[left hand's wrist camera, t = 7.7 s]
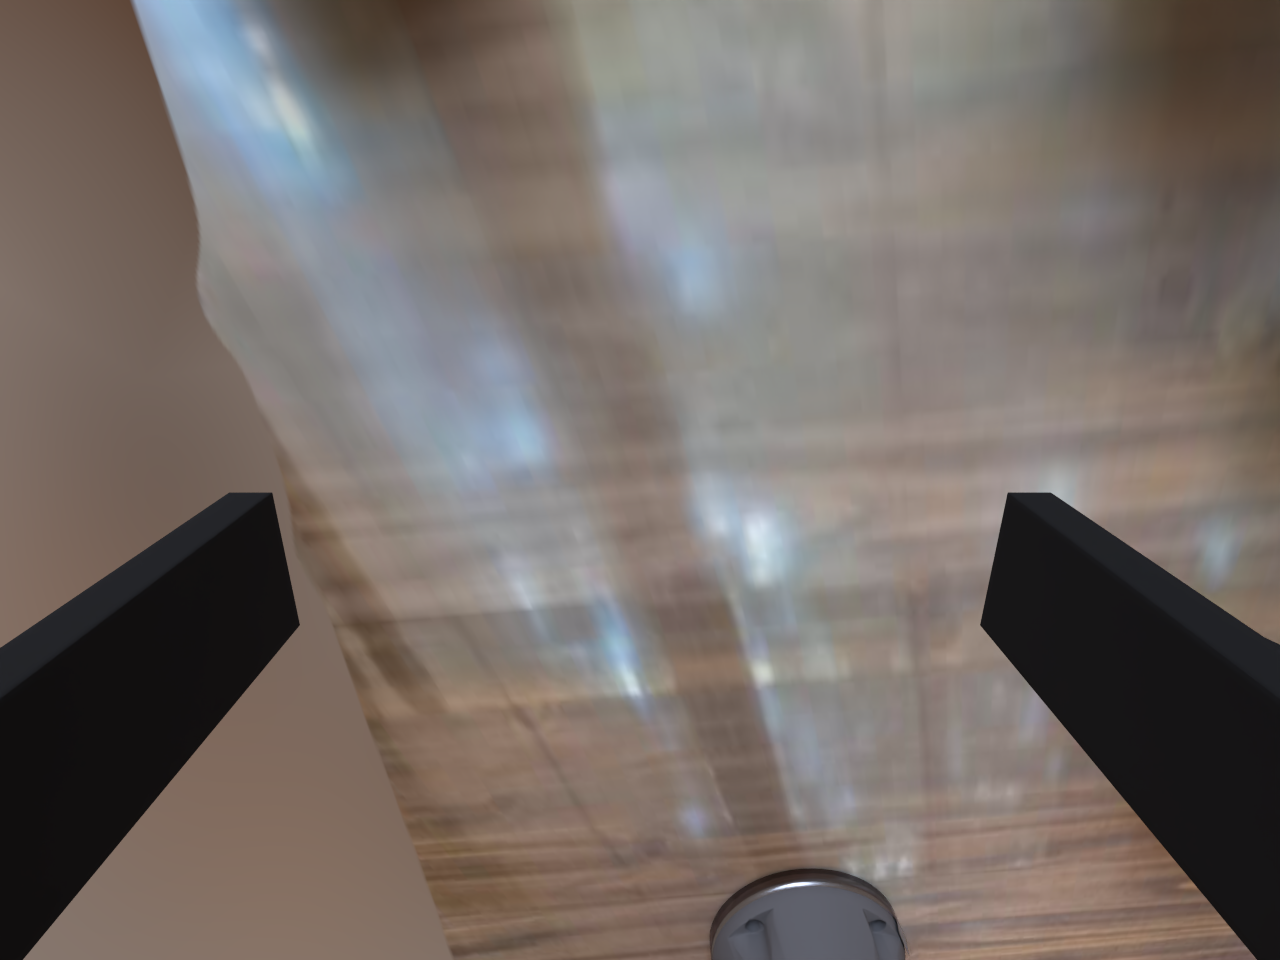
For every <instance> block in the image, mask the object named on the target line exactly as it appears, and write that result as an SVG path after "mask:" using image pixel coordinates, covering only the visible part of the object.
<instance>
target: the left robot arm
mask: <svg viewBox="0 0 1280 960" xmlns="http://www.w3.org/2000/svg"><path fill="white" fill-rule="evenodd" d="M299 625H300V624H299V619H298V614H297V609H296V605H295V600H294V595H293V590H292V585H291V581H290V576H289V571H288V566H287V562H286V557H285V552H284V547H283V542H282V538H281V533H280V528H279V523H278V518H277V514H276V509H275V504H274V499H273V494H272V493H228V494H227V495H225V496H224V497H222V498H221V499H219V500H218V501H216V502H215V503H213V504H212V505H210V506H209V507H207V508H206V509H205V510H203V511H202V512H200V513H199V514H197V515H196V516H194V517H193V518H191V519H190V520H188V521H187V522H185V523H184V524H182V525H181V526H179V527H178V528H176V529H175V530H174V531H172V532H171V533H169V534H168V535H166V536H165V537H163V538H162V539H160V540H159V541H157V542H156V543H154V544H153V545H151V546H150V547H148V548H147V549H146V550H144V551H143V552H141V553H140V554H138V555H137V556H135V557H134V558H132V559H131V560H129V561H128V562H126V563H125V564H123V565H122V566H120V567H119V568H118V569H116V570H115V571H113V572H112V573H110V574H109V575H107V576H106V577H104V578H103V579H101V580H100V581H98V582H97V583H95V584H94V585H92V586H91V587H90V588H88V589H87V590H85V591H84V592H82V593H81V594H79V595H78V596H76V597H75V598H73V599H72V600H70V601H69V602H67V603H66V604H64V605H63V606H61V607H60V608H59V609H57V610H56V611H54V612H53V613H51V614H50V615H48V616H47V617H45V618H44V619H42V620H41V621H39V622H38V623H36V624H35V625H33V626H32V627H31V628H29V629H28V630H26V631H25V632H23V633H22V634H20V635H19V636H17V637H16V638H14V639H13V640H11V641H10V642H8V643H7V644H5V645H4V646H3V647H1V648H0V960H23V959H24V958H25V956H26V955H27V954H28V953H29V952H30V950H31V949H32V948H33V947H34V945H35V944H36V943H37V942H38V941H39V939H40V938H41V937H42V936H43V935H44V933H45V932H46V931H47V930H48V929H49V927H50V926H51V925H52V924H53V923H54V921H55V920H56V919H57V918H58V916H59V915H60V914H61V913H62V912H63V910H64V909H65V908H66V907H67V906H68V904H69V903H70V902H71V901H72V900H73V898H74V897H75V896H76V895H77V894H78V892H79V891H80V890H81V889H82V887H83V886H84V885H85V884H86V883H87V881H88V880H89V879H90V878H91V877H92V875H93V874H94V873H95V872H96V871H97V869H98V868H99V867H100V866H101V865H102V863H103V862H104V861H105V860H106V858H107V857H108V856H109V855H110V854H111V852H112V851H113V850H114V849H115V848H116V846H117V845H118V844H119V843H120V842H121V840H122V839H123V838H124V837H125V836H126V834H127V833H128V832H129V831H130V830H131V828H132V827H133V826H134V825H135V823H136V822H137V821H138V820H139V819H140V817H141V816H142V815H143V814H144V813H145V811H146V810H147V809H148V808H149V807H150V805H151V804H152V803H153V802H154V801H155V799H156V798H157V797H158V796H159V794H160V793H161V792H162V791H163V790H164V788H165V787H166V786H167V785H168V784H169V782H170V781H171V780H172V779H173V778H174V776H175V775H176V774H177V773H178V772H179V770H180V769H181V768H182V767H183V766H184V764H185V763H186V762H187V761H188V759H189V758H190V757H191V756H192V755H193V753H194V752H195V751H196V750H197V749H198V747H199V746H200V745H201V744H202V743H203V741H204V740H205V739H206V738H207V736H208V735H209V734H210V733H211V732H212V730H213V729H214V728H215V727H216V726H217V724H218V723H219V722H220V721H221V720H222V718H223V717H224V716H225V715H226V714H227V712H228V711H229V710H230V709H231V708H232V706H233V705H234V704H235V703H236V701H237V700H238V699H239V698H240V697H241V695H242V694H243V693H244V692H245V691H246V689H247V688H248V687H249V686H250V685H251V683H252V682H253V681H254V680H255V679H256V677H257V676H258V675H259V674H260V672H261V671H262V670H263V669H264V668H265V666H266V665H267V664H268V663H269V662H270V660H271V659H272V658H273V657H274V656H275V654H276V653H277V652H278V651H279V650H280V648H281V647H282V646H283V645H284V643H285V642H286V641H287V640H288V639H289V637H290V636H291V635H292V634H293V633H294V631H295V630H296V629H297V628H298V626H299ZM980 625H981V627H982V628H983V629H984V630H985V631H986V633H987V634H988V635H989V636H990V637H991V639H992V640H993V641H994V642H995V644H996V645H997V646H998V647H999V648H1000V650H1001V651H1002V652H1003V653H1004V654H1005V656H1006V657H1007V658H1008V659H1009V660H1010V662H1011V663H1012V664H1013V665H1014V666H1015V668H1016V669H1017V670H1018V671H1019V672H1020V674H1021V675H1022V676H1023V677H1024V679H1025V680H1026V681H1027V682H1028V683H1029V685H1030V686H1031V687H1032V688H1033V689H1034V691H1035V692H1036V693H1037V694H1038V695H1039V697H1040V698H1041V699H1042V700H1043V701H1044V703H1045V704H1046V705H1047V706H1048V708H1049V709H1050V710H1051V711H1052V712H1053V714H1054V715H1055V716H1056V717H1057V718H1058V720H1059V721H1060V722H1061V723H1062V724H1063V726H1064V727H1065V728H1066V729H1067V730H1068V732H1069V733H1070V734H1071V735H1072V737H1073V738H1074V739H1075V740H1076V741H1077V743H1078V744H1079V745H1080V746H1081V747H1082V749H1083V750H1084V751H1085V752H1086V753H1087V755H1088V756H1089V757H1090V758H1091V759H1092V761H1093V762H1094V763H1095V764H1096V766H1097V767H1098V768H1099V769H1100V770H1101V772H1102V773H1103V774H1104V775H1105V776H1106V778H1107V779H1108V780H1109V781H1110V782H1111V784H1112V785H1113V786H1114V787H1115V788H1116V790H1117V791H1118V792H1119V793H1120V795H1121V796H1122V797H1123V798H1124V799H1125V801H1126V802H1127V803H1128V804H1129V805H1130V807H1131V808H1132V809H1133V810H1134V811H1135V813H1136V814H1137V815H1138V816H1139V817H1140V819H1141V820H1142V821H1143V822H1144V823H1145V825H1146V826H1147V827H1148V828H1149V830H1150V831H1151V832H1152V833H1153V834H1154V836H1155V837H1156V838H1157V839H1158V840H1159V842H1160V843H1161V844H1162V845H1163V846H1164V848H1165V849H1166V850H1167V851H1168V852H1169V854H1170V855H1171V856H1172V857H1173V859H1174V860H1175V861H1176V862H1177V863H1178V865H1179V866H1180V867H1181V868H1182V869H1183V871H1184V872H1185V873H1186V874H1187V875H1188V877H1189V878H1190V879H1191V880H1192V881H1193V883H1194V884H1195V885H1196V886H1197V888H1198V889H1199V890H1200V891H1201V892H1202V894H1203V895H1204V896H1205V897H1206V898H1207V900H1208V901H1209V902H1210V903H1211V904H1212V906H1213V907H1214V908H1215V909H1216V910H1217V912H1218V913H1219V914H1220V915H1221V917H1222V918H1223V919H1224V920H1225V921H1226V923H1227V924H1228V925H1229V926H1230V927H1231V929H1232V930H1233V931H1234V932H1235V933H1236V935H1237V936H1238V937H1239V938H1240V939H1241V941H1242V942H1243V943H1244V944H1245V945H1246V947H1247V948H1248V949H1249V950H1250V952H1251V953H1252V954H1253V955H1254V956H1255V958H1256V959H1257V960H1280V645H1279V644H1277V643H1275V642H1273V641H1271V640H1269V639H1266V638H1264V637H1263V636H1261V635H1260V634H1258V633H1257V632H1255V631H1254V630H1252V629H1251V628H1249V627H1248V626H1247V625H1245V624H1244V623H1242V622H1241V621H1239V620H1238V619H1236V618H1235V617H1233V616H1232V615H1230V614H1229V613H1227V612H1226V611H1224V610H1223V609H1221V608H1220V607H1219V606H1217V605H1216V604H1214V603H1213V602H1211V601H1210V600H1208V599H1207V598H1205V597H1204V596H1202V595H1201V594H1199V593H1198V592H1196V591H1195V590H1193V589H1192V588H1191V587H1189V586H1188V585H1186V584H1185V583H1183V582H1182V581H1180V580H1179V579H1177V578H1176V577H1174V576H1173V575H1171V574H1170V573H1168V572H1167V571H1165V570H1164V569H1163V568H1161V567H1160V566H1158V565H1157V564H1155V563H1154V562H1152V561H1151V560H1149V559H1148V558H1146V557H1145V556H1143V555H1142V554H1140V553H1139V552H1137V551H1136V550H1134V549H1133V548H1132V547H1130V546H1129V545H1127V544H1126V543H1124V542H1123V541H1121V540H1120V539H1118V538H1117V537H1115V536H1114V535H1112V534H1111V533H1109V532H1108V531H1106V530H1105V529H1104V528H1102V527H1101V526H1099V525H1098V524H1096V523H1095V522H1093V521H1092V520H1090V519H1089V518H1087V517H1086V516H1084V515H1083V514H1081V513H1080V512H1078V511H1077V510H1076V509H1074V508H1073V507H1071V506H1070V505H1068V504H1067V503H1065V502H1064V501H1062V500H1061V499H1059V498H1058V497H1056V496H1055V495H1053V494H1052V493H1008V494H1007V499H1006V504H1005V509H1004V514H1003V518H1002V523H1001V528H1000V533H999V537H998V542H997V547H996V552H995V557H994V561H993V566H992V571H991V576H990V581H989V585H988V590H987V595H986V600H985V605H984V609H983V614H982V619H981V624H980ZM904 945H905V948H906V950H907V952H908V947H907V942H906V938H905V936H904V934H903V931H902V929H901V927H900V924H899V922H898V920H897V917H896V916H895V913H894V910H893V908H892V906H891V905H890V903H889V902H888V900H887V899H886V898H885V896H884V895H883V894H882V893H881V892H880V891H878V890H877V889H876V888H875V887H873V886H872V885H871V884H869V883H867V882H865V881H864V880H862V879H859V878H857V877H855V876H852V875H849V874H846V873H842V872H838V871H833V870H825V869H798V870H790V871H784V872H780V873H776V874H772V875H769V876H766V877H764V878H761V879H759V880H756V881H754V882H752V883H750V884H749V885H747V886H745V887H744V888H742V889H740V890H739V891H738V892H736V893H735V894H734V895H733V896H732V897H730V898H729V899H728V900H727V901H726V902H725V904H724V905H723V906H722V907H721V909H720V910H719V911H718V913H717V915H716V917H715V919H714V921H713V923H712V927H711V931H710V949H711V959H712V960H905V948H904ZM908 954H909V952H908Z"/></svg>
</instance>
